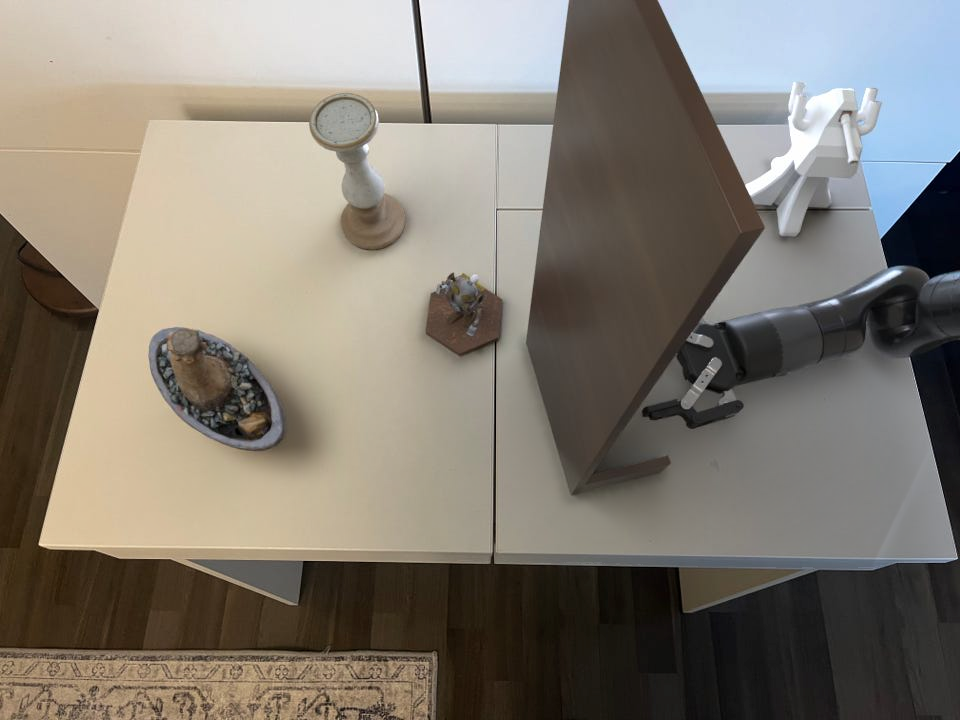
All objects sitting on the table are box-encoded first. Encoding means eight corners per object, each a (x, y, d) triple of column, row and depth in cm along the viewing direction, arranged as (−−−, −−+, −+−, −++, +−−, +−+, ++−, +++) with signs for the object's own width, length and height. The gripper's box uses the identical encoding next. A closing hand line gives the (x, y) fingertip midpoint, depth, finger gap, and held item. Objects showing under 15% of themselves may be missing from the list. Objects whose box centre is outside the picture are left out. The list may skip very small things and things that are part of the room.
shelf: (608, 322, 84) (797, -154, 32) (660, 472, 77) (1012, 172, 25) (525, 341, 84) (582, -115, 31) (570, 495, 76) (740, 233, 24)
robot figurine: (407, 321, 85) (394, 276, 74) (450, 269, 88) (444, 219, 76) (476, 368, 82) (474, 329, 71) (519, 313, 85) (523, 267, 74)
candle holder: (329, 220, 91) (286, 116, 72) (379, 185, 93) (350, 74, 74) (367, 262, 88) (334, 165, 69) (418, 225, 90) (399, 121, 71)
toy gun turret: (744, 241, 88) (803, 153, 72) (736, 160, 93) (790, 60, 76) (834, 245, 88) (915, 158, 71) (822, 164, 93) (895, 64, 76)
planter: (302, 465, 78) (243, 418, 60) (162, 468, 78) (60, 422, 60) (312, 350, 84) (260, 274, 65) (181, 353, 84) (92, 278, 65)
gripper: (754, 275, 74) (617, 307, 73) (807, 391, 69) (660, 428, 68) (732, 304, 81) (606, 334, 80) (778, 412, 76) (644, 445, 75)
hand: (631, 377), depth 74 cm, fingers open, 8 cm apart
